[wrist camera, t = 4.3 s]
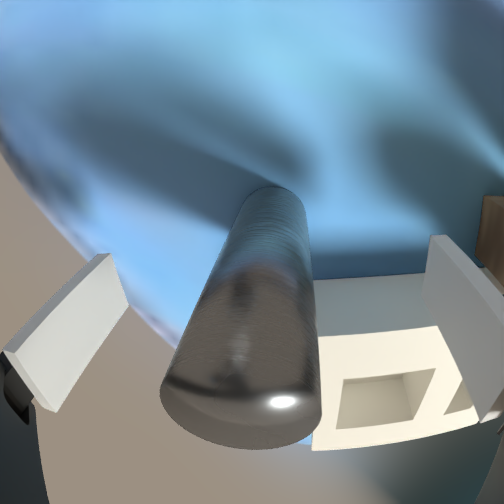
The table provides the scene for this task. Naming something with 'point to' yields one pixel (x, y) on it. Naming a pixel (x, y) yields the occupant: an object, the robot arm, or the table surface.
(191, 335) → the round peg
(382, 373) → the socket block
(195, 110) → the table surface
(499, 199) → the walnut square bar
